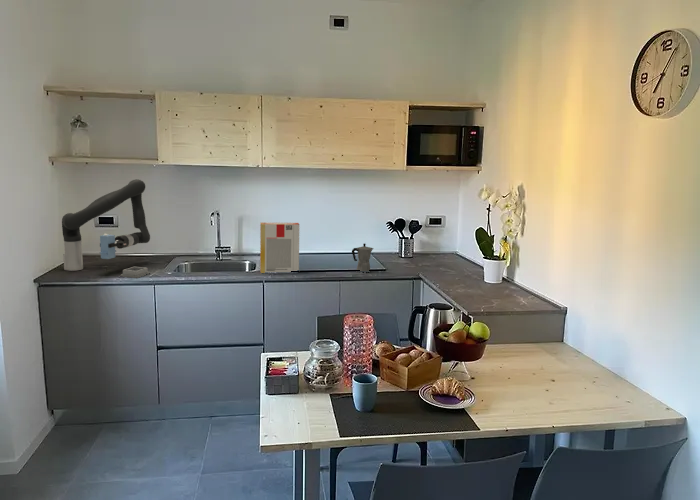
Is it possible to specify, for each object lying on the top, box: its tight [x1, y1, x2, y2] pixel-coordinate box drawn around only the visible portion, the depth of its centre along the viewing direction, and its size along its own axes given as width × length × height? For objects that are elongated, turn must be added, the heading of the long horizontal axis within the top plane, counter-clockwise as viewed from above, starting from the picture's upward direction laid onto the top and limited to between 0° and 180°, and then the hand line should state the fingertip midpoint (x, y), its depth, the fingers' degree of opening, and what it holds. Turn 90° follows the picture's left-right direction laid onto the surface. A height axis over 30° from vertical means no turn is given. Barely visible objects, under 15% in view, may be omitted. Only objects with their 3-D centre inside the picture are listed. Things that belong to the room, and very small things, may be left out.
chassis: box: [120, 266, 151, 279], centre depth 311 cm, size 11×12×4 cm
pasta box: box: [259, 222, 300, 274], centre depth 328 cm, size 23×8×30 cm, turn 100°
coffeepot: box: [351, 242, 374, 271], centre depth 337 cm, size 15×9×18 cm, turn 119°
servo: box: [99, 233, 117, 260], centre depth 309 cm, size 5×9×14 cm, turn 166°
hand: (104, 245), depth 306 cm, fingers closed on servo, 5 cm apart
